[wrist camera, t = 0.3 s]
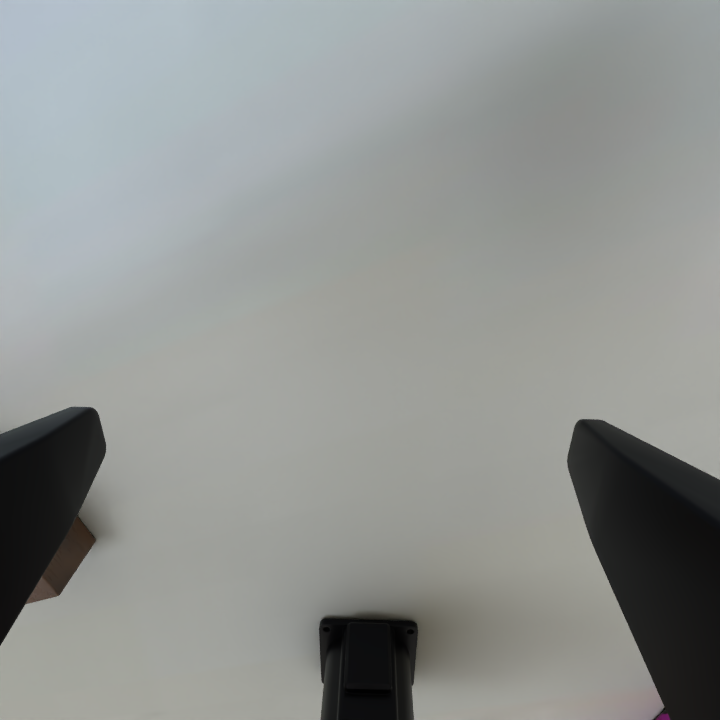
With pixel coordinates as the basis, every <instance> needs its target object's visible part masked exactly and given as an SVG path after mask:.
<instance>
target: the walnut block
mask: <svg viewBox="0 0 720 720" xmlns="http://www.w3.org/2000/svg"><path fill="white" fill-rule="evenodd" d="M95 541H96V540H95V538H94V537H93V536H92V535H91V533H90V532H89V531H88V529H87V528H86V527H85V526H84V524H83V523H82V522H81V520H80V519H79V518H78V517H76V519H75V521H74V523H73V525H72V527H71V528H70V530H69V532H68V534H67V535H66V537H65V539H64V541H63V542H62V544H61V546H60V547H59V549H58V551H57V552H56V554H55V556H54V557H53V559H52V561H51V562H50V564H49V566H48V567H47V569H46V571H45V572H44V574H43V575H42V577H41V579H40V580H39V582H38V584H37V585H36V587H35V589H34V590H33V592H32V594H31V595H30V597H29V599H28V600H27V602H26V604H28V603H32V602H36V601H40V600H44V599H48V598H52V597H56V596H59V595H60V594H61V592H62V591H63V589H64V588H65V586H66V585H67V583H68V582H69V580H70V579H71V577H72V576H73V574H74V573H75V571H76V570H77V568H78V567H79V565H80V564H81V562H82V561H83V559H84V558H85V556H86V555H87V553H88V552H89V550H90V549H91V547H92V546H93V544H94V543H95Z"/></svg>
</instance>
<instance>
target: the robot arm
mask: <svg viewBox="0 0 720 720" xmlns="http://www.w3.org/2000/svg"><path fill="white" fill-rule="evenodd" d="M105 453H106V442H105V438H104V434H103V430H102V426H101V422H100V418H99V415H98V412H97V411H96V410H95V409H94V408H91V407H70V408H67V409H64V410H62V411H59V412H57V413H54V414H52V415H49V416H46V417H44V418H41V419H39V420H36V421H33V422H31V423H28V424H26V425H23V426H20V427H18V428H15V429H13V430H10V431H8V432H5V433H2V434H0V645H1V644H2V642H3V640H4V639H5V637H6V635H7V634H8V632H9V630H10V629H11V627H12V625H13V624H14V622H15V620H16V619H17V617H18V615H19V614H20V612H21V610H22V609H23V607H24V605H25V604H26V602H27V600H28V599H29V597H30V595H31V594H32V592H33V590H34V589H35V587H36V585H37V584H38V582H39V580H40V579H41V577H42V575H43V574H44V572H45V571H46V569H47V567H48V566H49V564H50V562H51V561H52V559H53V557H54V556H55V554H56V552H57V551H58V549H59V547H60V546H61V544H62V542H63V541H64V539H65V537H66V535H67V534H68V532H69V530H70V528H71V527H72V525H73V523H74V521H75V519H76V517H77V515H78V513H79V511H80V509H81V506H82V504H83V502H84V500H85V498H86V496H87V493H88V491H89V489H90V487H91V485H92V483H93V481H94V478H95V476H96V474H97V472H98V470H99V468H100V465H101V463H102V461H103V459H104V456H105ZM567 463H568V469H569V473H570V476H571V479H572V482H573V486H574V489H575V492H576V495H577V498H578V502H579V505H580V508H581V511H582V514H583V518H584V521H585V524H586V527H587V530H588V533H589V536H590V539H591V541H592V544H593V546H594V549H595V551H596V553H597V556H598V558H599V560H600V562H601V565H602V567H603V569H604V571H605V574H606V576H607V578H608V580H609V583H610V585H611V587H612V589H613V592H614V594H615V596H616V598H617V601H618V603H619V605H620V607H621V610H622V612H623V614H624V616H625V619H626V621H627V623H628V625H629V628H630V630H631V632H632V634H633V637H634V639H635V641H636V643H637V646H638V648H639V650H640V652H641V655H642V657H643V659H644V661H645V664H646V666H647V668H648V670H649V673H650V675H651V677H652V679H653V682H654V684H655V686H656V688H657V691H658V693H659V695H660V697H661V700H662V702H663V704H664V706H665V709H666V711H667V713H668V715H669V718H670V720H720V480H719V479H717V478H715V477H713V476H711V475H709V474H707V473H705V472H703V471H701V470H699V469H697V468H695V467H693V466H691V465H689V464H687V463H686V462H684V461H682V460H680V459H678V458H676V457H674V456H672V455H670V454H668V453H666V452H664V451H662V450H660V449H658V448H656V447H654V446H652V445H650V444H648V443H646V442H644V441H642V440H640V439H638V438H636V437H634V436H632V435H630V434H628V433H626V432H624V431H623V430H621V429H619V428H617V427H615V426H613V425H611V424H609V423H607V422H605V421H603V420H594V419H581V420H579V421H578V422H577V423H576V425H575V427H574V431H573V436H572V440H571V444H570V448H569V453H568V459H567ZM319 634H320V656H321V678H322V683H323V684H324V688H323V699H322V710H321V720H414V715H413V700H412V685H413V683H414V671H415V659H416V647H417V636H418V628H417V624H416V623H415V622H413V621H390V620H352V619H324V620H322V621H321V622H320V627H319Z"/></svg>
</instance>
